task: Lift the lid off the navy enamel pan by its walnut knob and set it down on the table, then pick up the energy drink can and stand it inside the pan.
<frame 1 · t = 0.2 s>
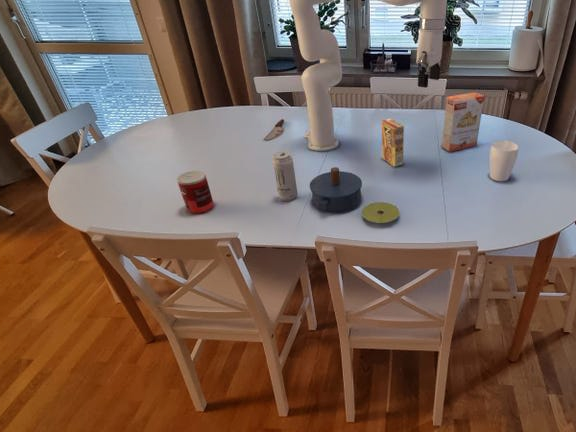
hand: (428, 83, 126), 31 cm above the table, tool pointing down, fingers open, 9 cm apart
pan lid: (336, 185, 123), point 5 cm above the table, touching pan
candy box: (392, 162, 149), on the table
energy drink can: (288, 197, 128), on the table
cup: (499, 177, 139), on the table
canned food: (201, 208, 122), on the table
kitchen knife: (277, 131, 174), on the table
cracker box: (459, 147, 160), on the table
olive green disc: (380, 217, 118), on the table
pan: (337, 199, 126), on the table
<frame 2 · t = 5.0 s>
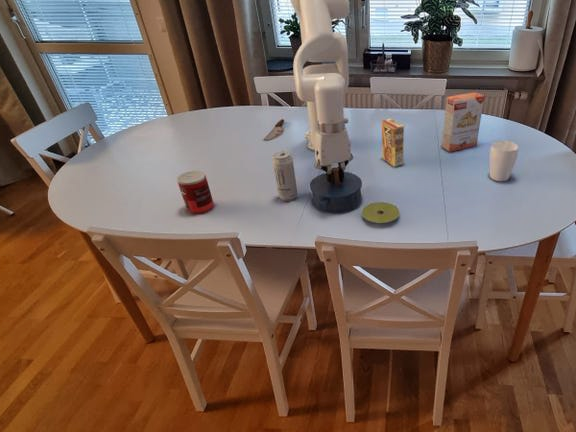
hand: (335, 181, 122), 7 cm above the table, tool pointing down, fingers closed on pan lid, 2 cm apart
pan lid: (336, 185, 123), point 6 cm above the table, touching gripper, pan
everything else where it was.
when the fingers open (2 cm above the table, at t = 12.4 s): pan lid stays where it is, point 1 cm above the table.
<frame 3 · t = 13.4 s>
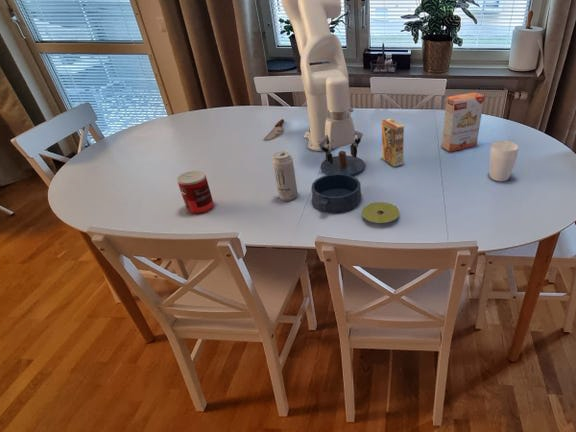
hand: (342, 159, 143), 3 cm above the table, tool pointing down, fingers open, 9 cm apart
pan lid: (342, 166, 144), point 1 cm above the table
everything else where it was.
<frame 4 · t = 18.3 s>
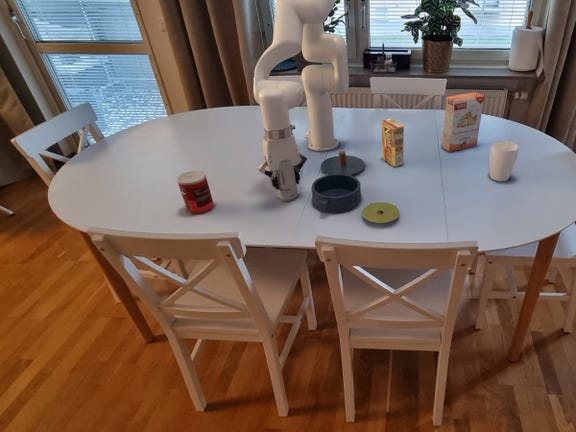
hand: (286, 184, 125), 5 cm above the table, tool pointing down, fingers closed on energy drink can, 6 cm apart
energy drink can: (288, 197, 128), on the table, touching gripper
everything else where it was.
when the fingers open (5 cm above the table, at t = 25.6 s): energy drink can stays where it is, resting on pan.
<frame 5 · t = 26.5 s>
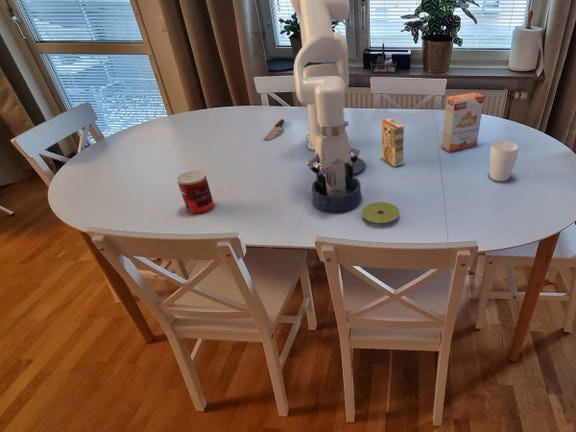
hand: (335, 180, 122), 7 cm above the table, tool pointing down, fingers open, 9 cm apart
energy drink can: (337, 199, 126), resting on pan
everything else where it was.
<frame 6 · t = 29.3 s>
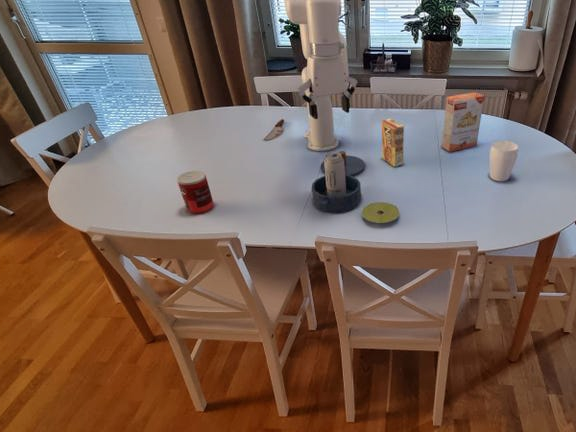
hand: (330, 114, 110), 28 cm above the table, tool pointing down, fingers open, 9 cm apart
nothing on the table moved.
at the end: pan lid inside the target area (0.3 cm from its centre), point 0.6 cm above the table; energy drink can inside the target area in the pan (0.0 cm from its centre), point 0.3 cm above the pan's base; energy drink can tilted 0° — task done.
